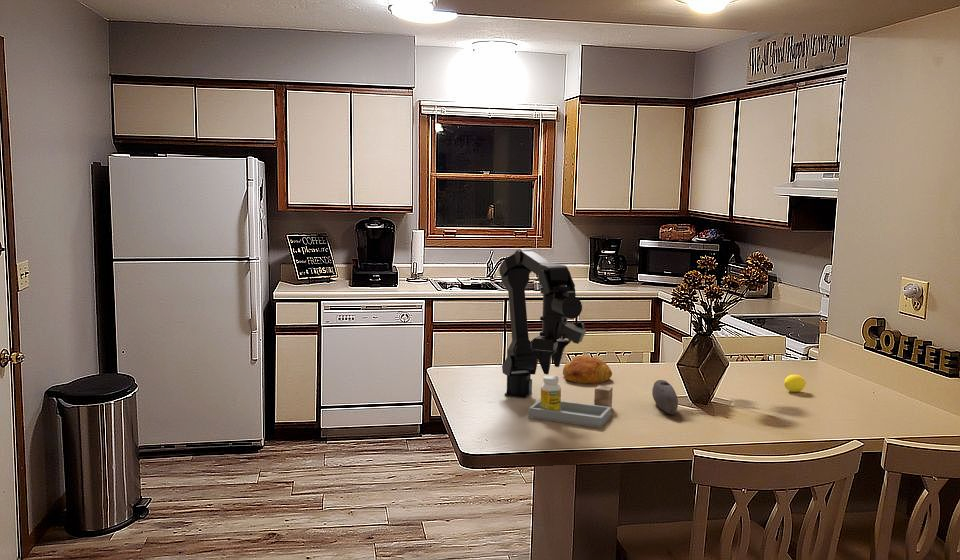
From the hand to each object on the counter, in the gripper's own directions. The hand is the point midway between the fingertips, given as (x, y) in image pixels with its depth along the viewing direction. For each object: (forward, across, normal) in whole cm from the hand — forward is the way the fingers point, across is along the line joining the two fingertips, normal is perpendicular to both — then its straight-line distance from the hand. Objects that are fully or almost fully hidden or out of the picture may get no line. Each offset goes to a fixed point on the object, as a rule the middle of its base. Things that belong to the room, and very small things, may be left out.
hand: (551, 370), depth 213 cm
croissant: (+12, +42, +2) cm, 44 cm away
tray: (+12, 0, -5) cm, 13 cm away
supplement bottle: (+12, 0, 0) cm, 12 cm away
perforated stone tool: (+12, +19, -27) cm, 35 cm away
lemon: (+12, +56, -59) cm, 82 cm away
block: (+12, +12, -11) cm, 20 cm away
